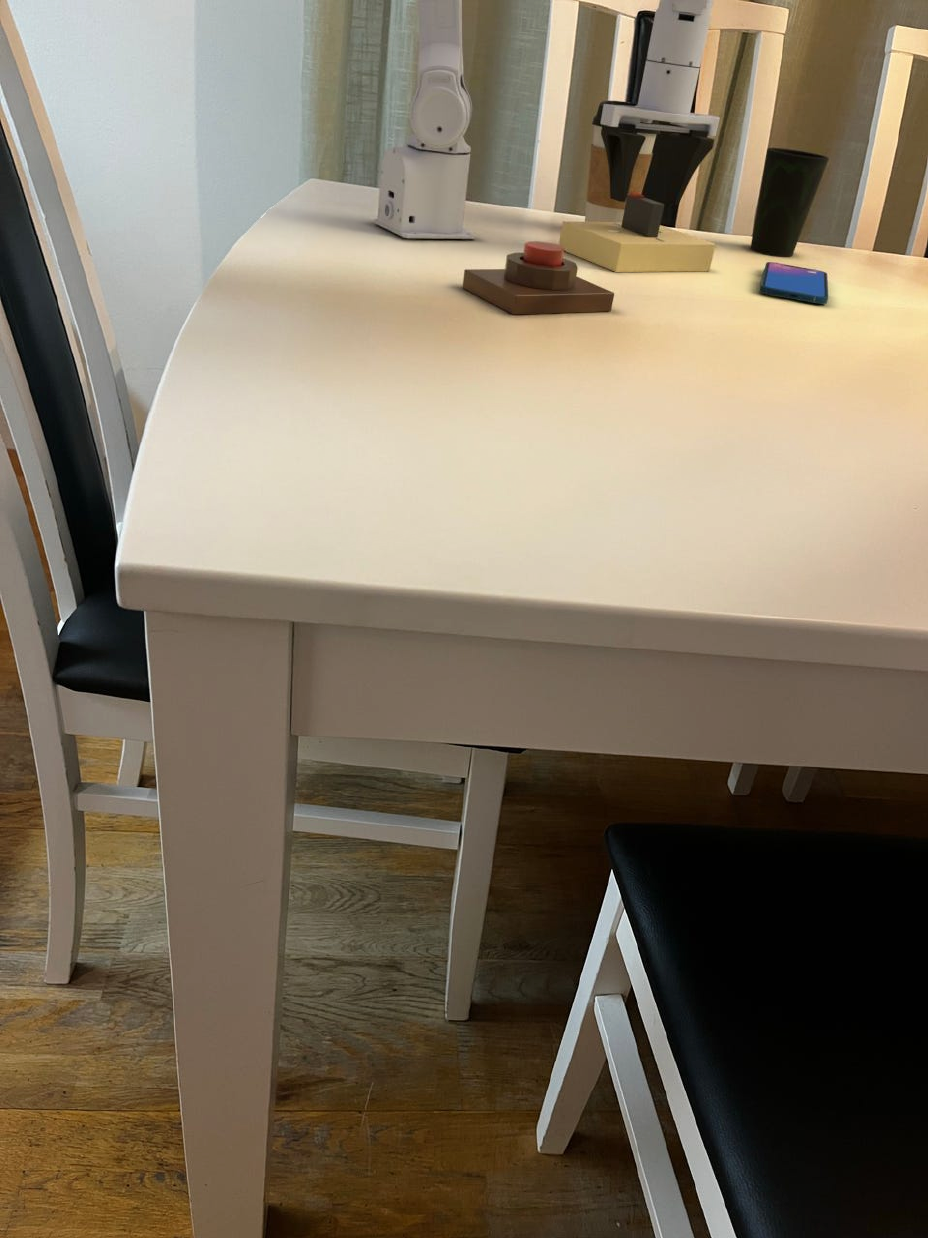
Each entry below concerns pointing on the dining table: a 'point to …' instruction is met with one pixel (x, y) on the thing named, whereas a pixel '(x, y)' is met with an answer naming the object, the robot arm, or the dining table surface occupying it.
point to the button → (543, 254)
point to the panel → (635, 248)
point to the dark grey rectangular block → (642, 215)
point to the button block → (537, 288)
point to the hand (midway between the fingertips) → (644, 201)
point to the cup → (785, 199)
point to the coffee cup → (599, 179)
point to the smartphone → (795, 283)
